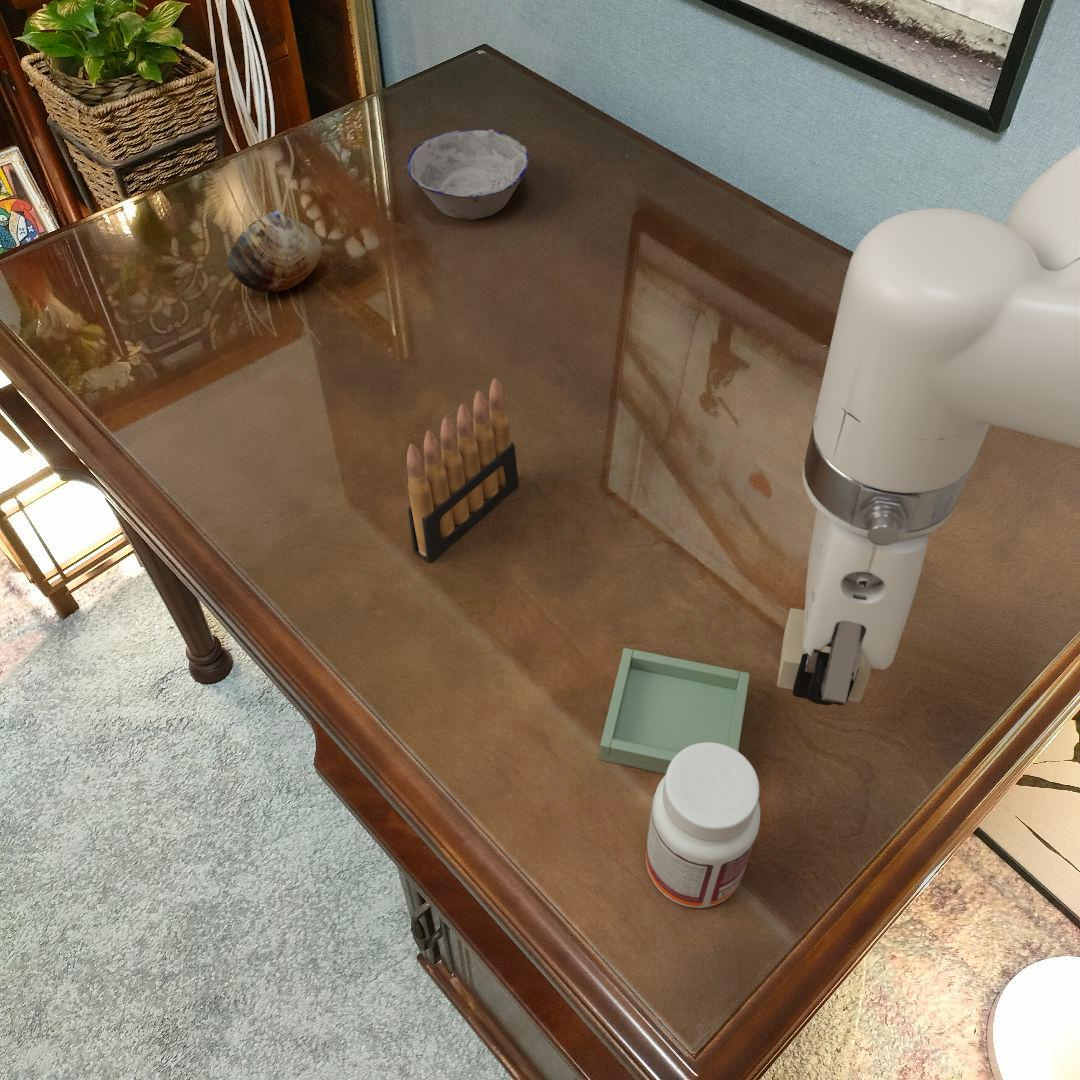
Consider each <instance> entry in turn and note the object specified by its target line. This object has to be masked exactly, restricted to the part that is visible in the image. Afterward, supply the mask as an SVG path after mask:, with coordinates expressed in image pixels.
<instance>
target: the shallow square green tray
mask: <svg viewBox="0 0 1080 1080" xmlns="http://www.w3.org/2000/svg"><path fill="white" fill-rule="evenodd" d="M750 676H751V673H750V672H747V671H740V670H736V669H732V668H727V667H722V666H717V665H712V664H709V663H708V664H707V663H702V662H698V661H697V662H696V661H692V660H687V659H682V658H677V657H674V656H673V657H672V656H668V655H662V654H658V653H653V652H648V651H643V650H637V649H633V648H628V647H624V648H623V650H622V654H621V659H620V662H619V666H618V670H617V674H616V677H615V682H614V686H613V691H612V694H611V698H610V702H609V707H608V711H607V715H606V719H605V723H604V728H603V732H602V735H601V740H600V744H599V760H601V761H605V762H609V763H614V764H618V765H623V766H628V767H632V768H636V769H641V770H646V771H650V772H655V773H657V774H658V773H659V774H663V775H666V772H667V769H668V767H669V765H670V763H671V761H672V760H673V758H674V757H675V756H676V755H677V754H678V753H679V752H680V751H682V750H683V749H685V748H687V747H688V746H691V745H694V744H697V743H704V742H712V743H719V744H723V745H726V746H729V747H731V748H733V749H735V750H736V751H738V752H740V751H739V750H740V744H741V737H742V729H743V724H744V723H743V722H744V718H745V717H744V716H745V710H746V703H747V697H748V690H749V682H750Z"/></svg>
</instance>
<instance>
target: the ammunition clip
mask: <svg viewBox="0 0 1080 1080" xmlns="http://www.w3.org/2000/svg"><path fill="white" fill-rule="evenodd" d="M488 397H489V398H488V401H489V402H487V399H486V397H485V395H484V393H483V392H482V391H481V390H477V391H476V393H475V396H474V399H473V409H472V410H473V411H472V414H473V418H472V416H471V414H470V411H469V408H468V407H467V406H466V404H465V403H461V404H460V405H459V407H458V409H457V416H456V430H455V427H454V425H453V423H452V421H451V419H450V418H449V417H448V416H444V417H443V419H442V421H441V426H440V445H439V441H438V439H437V437H436V436H435V434H434V432H433V431H432V430H431V429H427V430H426V432H425V435H424V440H423V454H424V455H423V457H424V461H423V458H422V455H421V453H420V451H419V449H418V448H417V446H416V445H415V444H414V443H410V444H409V446H408V448H407V452H406V469H407V480H408V483H407V491H408V497H409V502H410V506H409V507H408V508H407V513H408V520H409V521H408V522H409V528H410V535H411V541H412V549H413V550H412V551H413V553H414V554H416V555H418V557H420V558H422V559H423V560H425V561H426V562H428V563H433V562H434V561H435V560H437V559H438V558H439V557H440V556H441V555H443V554H444V553H445V552H446V551H447V550H448V549H449V548H450V547H451V546H452V545H454V544H455V543H456V542H457V541H458V540H459V539H460V538H461V537H463V536H465V534H466V533H467V532H468V531H470V530H471V529H472V528H473V527H474V526H475V525H476V524H477V523H478V522H480V521H481V520H482V519H483V518H484V517H486V515H488V514H489V513H490V512H491V511H492V510H493V509H495V508H496V507H497V506H498V505H499V504H500V503H501V502H502V501H503V500H505V499H506V498H507V497H508V496H509V495H510V494H512V492H514V491H515V490H516V489H518V487H519V485H520V484H519V475H518V474H519V473H518V464H517V454H516V446H515V443H514V442H512V441H511V432H510V431H511V429H510V419H509V416H508V412H507V406H506V399H505V393H504V390H503V387H502V384H501V381H500V380H499V379H498V378H497V377H496V376H495V377H493V379H492V381H491V384H490V388H489V396H488ZM488 403H489V405H488ZM472 419H473V420H472ZM456 431H457V432H456Z"/></svg>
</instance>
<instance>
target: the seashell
mask: <svg viewBox="0 0 1080 1080" xmlns="http://www.w3.org/2000/svg"><path fill="white" fill-rule="evenodd" d="M322 253H323V245H322V242H321V240H320V238H319V237H318V236H317V235H316V234H315V233H314V231H313V230H312V228H311V227H310V226H308V225H307V224H305V223H302V222H299V221H296V220H293V219H292V218H291V217H289V216H287V215H286V214H285V213H283V212H282V211H281V210H279V209H278V210H277V209H276V210H272V211H269V212H267V213H265V214H264V215H262V216H261V217H259V218H258V219H256V220H255V221H253V222H251V224H249V225H248V226H247V227H246V228H245V229H244V230H243V231H242V233H241V234H240V235H239V236H238V237H237V239H236V241H235V243H234V245H233V247H232V249H231V250H230V252H229V254H228V256H227V260H226V261H227V262H226V263H227V264H226V265H227V267H228V269H229V271H230V272H231V273H232V274H233V275H234V277H235V278H236V279H237V281H238V282H239V283H240V284H242V285H243V286H245V287H246V288H247V289H250V290H252V291H254V292H258V293H274V292H275V293H276V292H283V291H286V290H289V289H291V288H294V287H295V286H297V285H299V284H300V283H302V281H304V280H305V279H307V277H309V276H310V274H312V272H313V271H314V269H315V268H316V267H317V265H318V263H319V261H320V259H321V256H322Z"/></svg>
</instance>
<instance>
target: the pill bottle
mask: <svg viewBox="0 0 1080 1080" xmlns="http://www.w3.org/2000/svg"><path fill="white" fill-rule="evenodd" d="M758 778H759V777H758V775H757V772H756V771H755V768H754V766H753V764H752V763H751V762H750V761H749V760H748V759H747V758H746V756H744V755H743V754H742V753H740V751H736V750H735V749H733V748H731V747H729V746H726V745H723V744H719V743H712V742H704V743H697V744H694V745H691V746H688V747H687V748H685V749H683V750H682V751H680V752H679V753H678V754H677V755H676V756H675V757H674V758H673V760H672V761H671V763H670V765H669V767H668V769H667V772H666V774H664V775H663V777H662V779H661V780H660V781H659V783H658V785H657V787H656V789H655V793H654V795H653V797H652V805H651V809H650V815H649V824H648V831H647V839H646V847H645V863H646V869H647V872H648V875H649V877H650V879H651V881H652V883H653V884H654V886H655V887H656V888H657V889H658V891H659V892H661V894H663V896H665V898H667V899H669V900H670V901H672V902H673V903H675V904H678V905H681V906H683V907H688V908H693V909H694V908H695V909H703V908H710V907H714V906H716V905H719V904H721V903H723V902H724V901H726V900H727V899H728V898H730V897H731V895H733V893H735V891H736V890H737V888H738V887H739V885H740V883H741V881H742V878H743V877H744V876H743V875H744V874H745V871H746V868H747V864H748V861H749V858H750V856H751V853H752V850H753V847H754V845H755V841H756V839H757V837H758V834H759V831H760V824H761V805H760V801H759V798H760V782H759V779H758Z"/></svg>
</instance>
